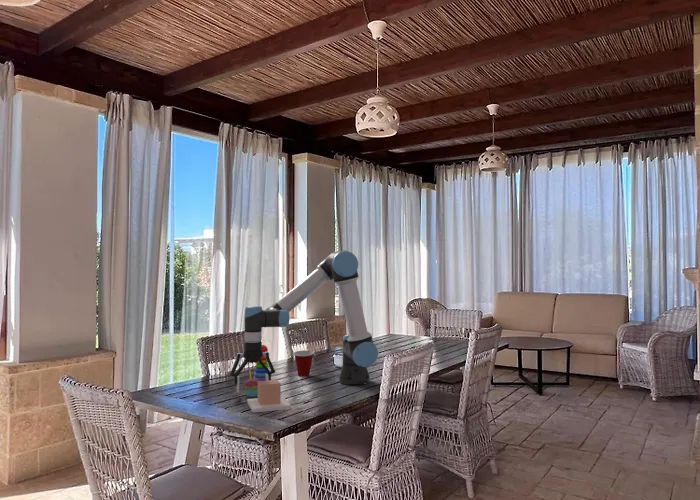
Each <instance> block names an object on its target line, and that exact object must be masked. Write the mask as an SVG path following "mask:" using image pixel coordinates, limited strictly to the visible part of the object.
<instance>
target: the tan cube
mask: <svg viewBox="0 0 700 500" xmlns="http://www.w3.org/2000/svg"><path fill="white" fill-rule="evenodd" d="M280 396H281V382H280V380H278V379H271V380H266V381H258V396H257V398H258V402H259V404H260V405H268V404H279V403H280Z"/></svg>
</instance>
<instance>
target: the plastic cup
mask: <svg viewBox="0 0 700 500" xmlns="http://www.w3.org/2000/svg"><path fill="white" fill-rule="evenodd" d="M314 354H315V352H314V350H307V349H305V350H298V351H294V352H293V356H294V359H295V364H296V365H295V366H296V369H297V371H296V372H297V375H298V376H299V377H309V376H310V374H311V368H312V364H313V363H312V362H313V357H314Z"/></svg>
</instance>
